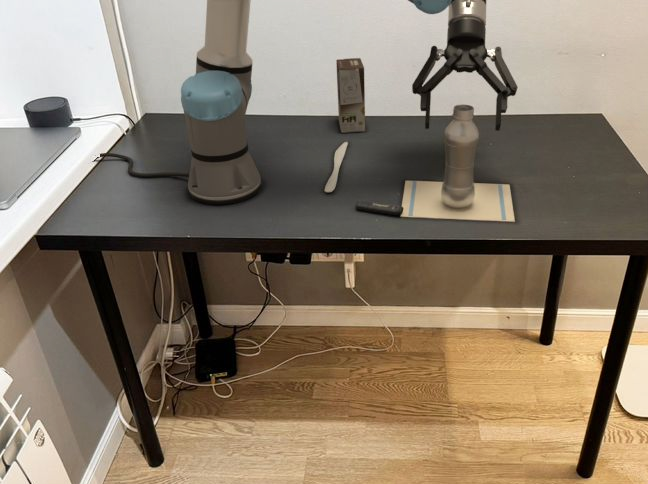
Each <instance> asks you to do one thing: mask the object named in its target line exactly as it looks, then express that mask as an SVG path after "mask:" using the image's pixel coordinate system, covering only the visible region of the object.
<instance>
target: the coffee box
mask: <svg viewBox="0 0 648 484" xmlns="http://www.w3.org/2000/svg"><path fill="white" fill-rule="evenodd" d="M335 61H336V62H335V63H336V64H335V65H336V84H337V85H336V86H337V87H336V88H337V110H338V124H339V129H340V133H341V134H345V133H361V132H365V131H366V99H365V97H366V93H365V88H366V87H365V66H364V64H363V62H362V59H361V58H360V57H356V58H355V57H353V58H342V59H341V58H340V59H336V60H335Z"/></svg>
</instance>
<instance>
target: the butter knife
mask: <svg viewBox="0 0 648 484" xmlns="http://www.w3.org/2000/svg"><path fill="white" fill-rule="evenodd" d="M348 145H349V142H348V141H344V142H343V143H342V144H341V145H340V146H338V148H337V149H336V150H335V152H334V157H333V163H334V164H333V170H332V173H331V175H330V177H329V178H328V180H327V182H326V184H325V186H324V192H325V193H328V194H329V193H332V192H333V191H335V189H336V186H337V183H338V177H339V171H340V167H341V164H342V162H343V160H344V157H345V155H346V152H347V148H348Z"/></svg>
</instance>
